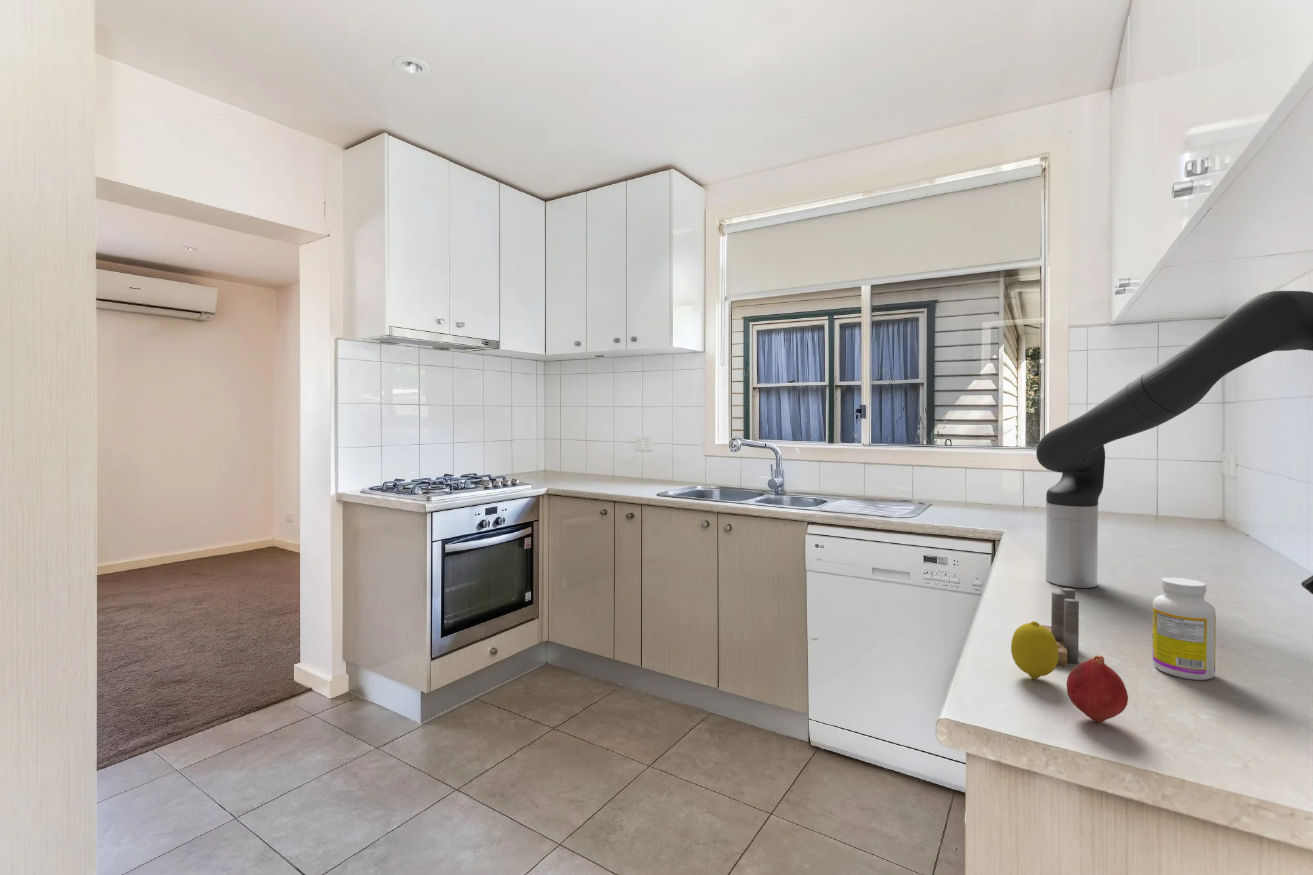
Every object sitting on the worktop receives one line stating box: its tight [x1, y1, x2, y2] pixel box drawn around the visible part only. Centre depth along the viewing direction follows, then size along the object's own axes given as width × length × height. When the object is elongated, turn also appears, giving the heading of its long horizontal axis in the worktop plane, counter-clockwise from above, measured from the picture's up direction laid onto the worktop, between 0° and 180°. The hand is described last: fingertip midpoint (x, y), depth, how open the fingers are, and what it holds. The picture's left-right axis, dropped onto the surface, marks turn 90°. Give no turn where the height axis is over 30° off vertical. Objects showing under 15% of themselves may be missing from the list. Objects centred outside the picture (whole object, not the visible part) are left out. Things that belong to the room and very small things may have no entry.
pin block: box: [1041, 587, 1080, 667], centre depth 92 cm, size 12×6×9 cm, turn 149°
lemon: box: [1010, 621, 1059, 680], centre depth 82 cm, size 6×6×8 cm
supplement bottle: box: [1152, 576, 1217, 681], centre depth 84 cm, size 7×7×13 cm
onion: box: [1065, 654, 1129, 724], centre depth 71 cm, size 6×6×8 cm
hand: (1309, 591), depth 80 cm, fingers closed
